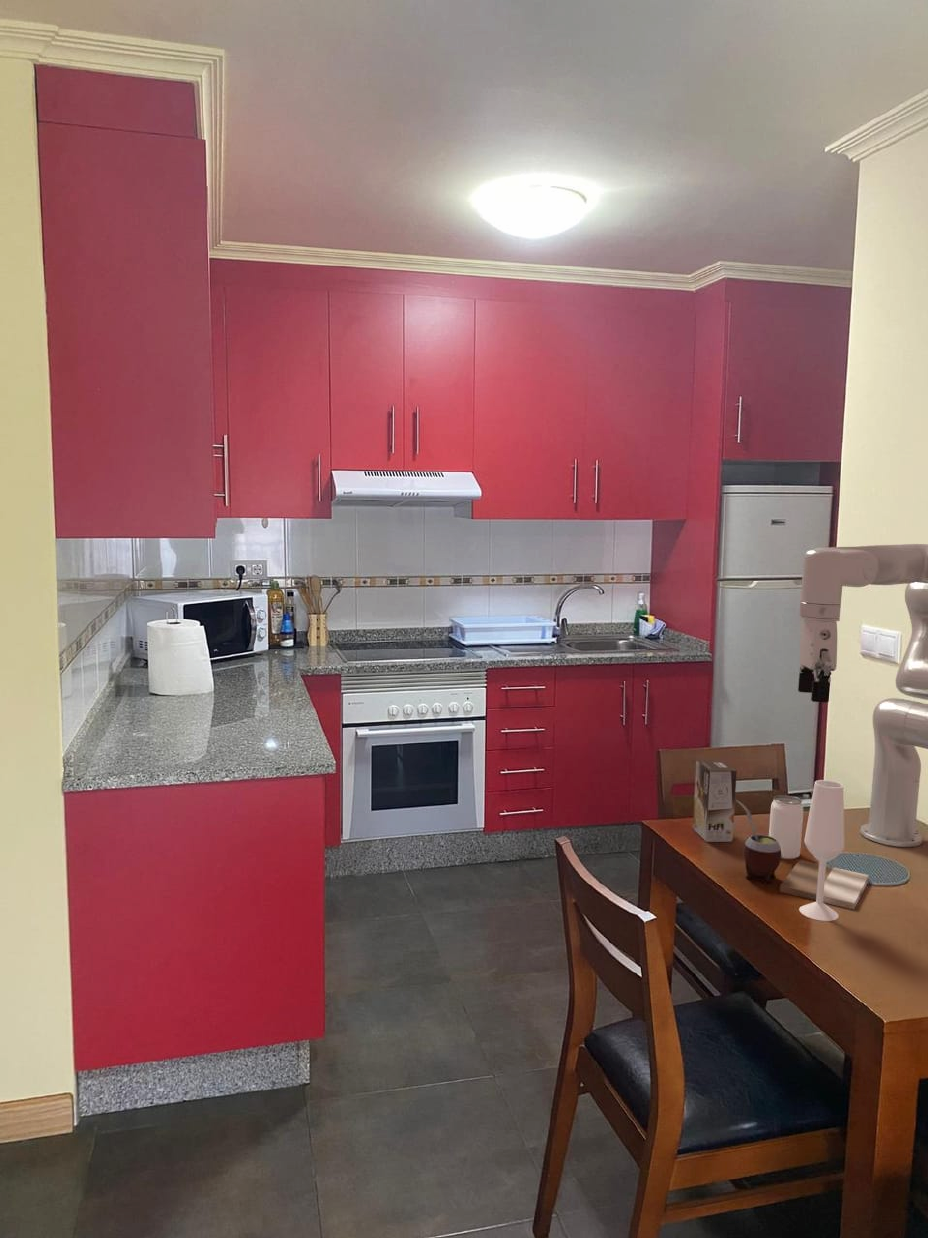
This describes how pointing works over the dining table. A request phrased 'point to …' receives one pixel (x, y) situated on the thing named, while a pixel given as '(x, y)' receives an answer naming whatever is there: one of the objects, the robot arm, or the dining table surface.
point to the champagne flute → (824, 839)
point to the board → (838, 884)
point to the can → (787, 825)
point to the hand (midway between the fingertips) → (812, 696)
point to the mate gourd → (761, 854)
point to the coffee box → (714, 800)
